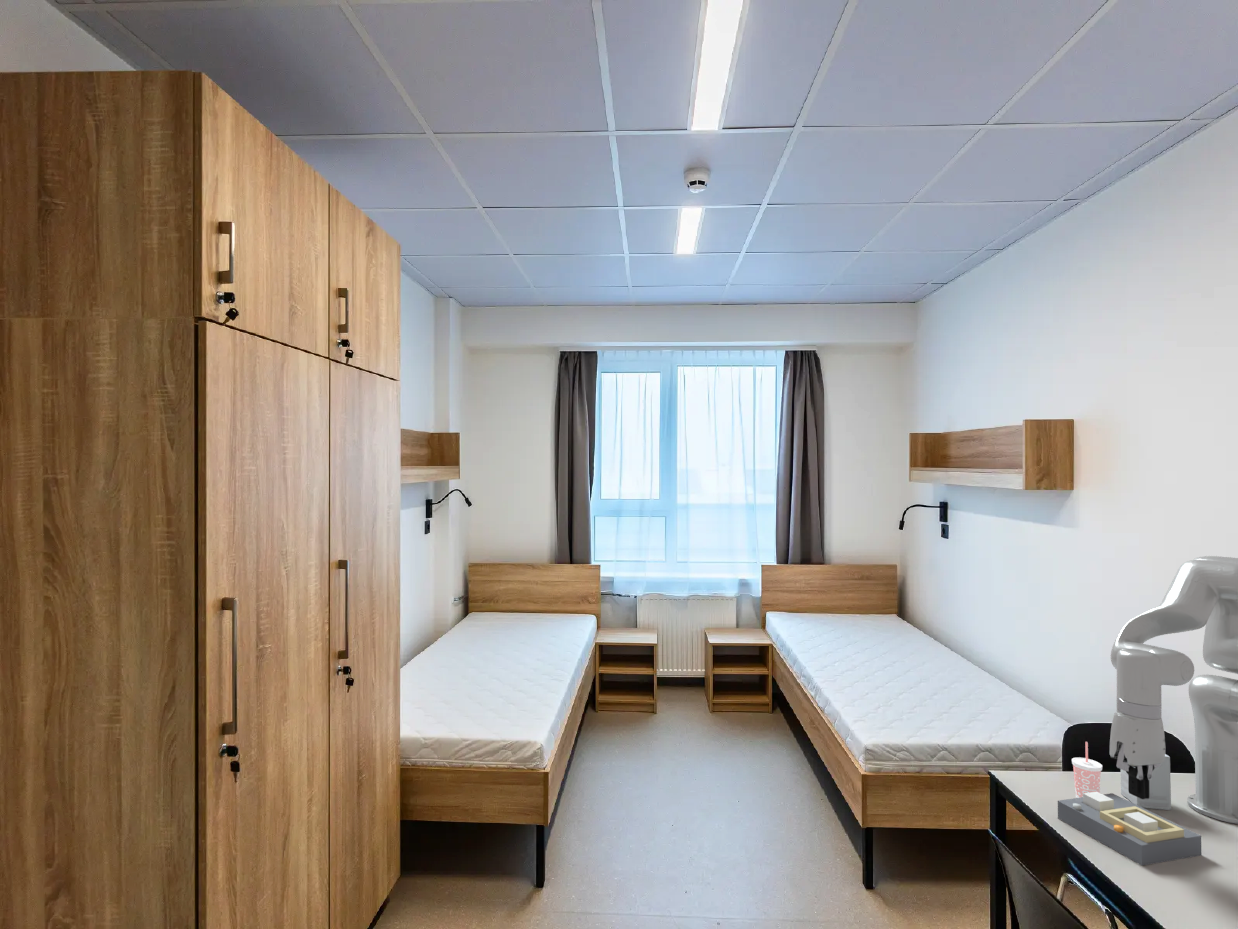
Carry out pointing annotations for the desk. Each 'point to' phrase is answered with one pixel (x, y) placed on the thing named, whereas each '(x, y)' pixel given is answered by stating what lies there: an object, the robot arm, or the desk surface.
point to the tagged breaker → (1141, 821)
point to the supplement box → (1152, 788)
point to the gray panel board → (1131, 831)
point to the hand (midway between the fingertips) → (1138, 796)
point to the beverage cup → (1086, 774)
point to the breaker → (1098, 801)
